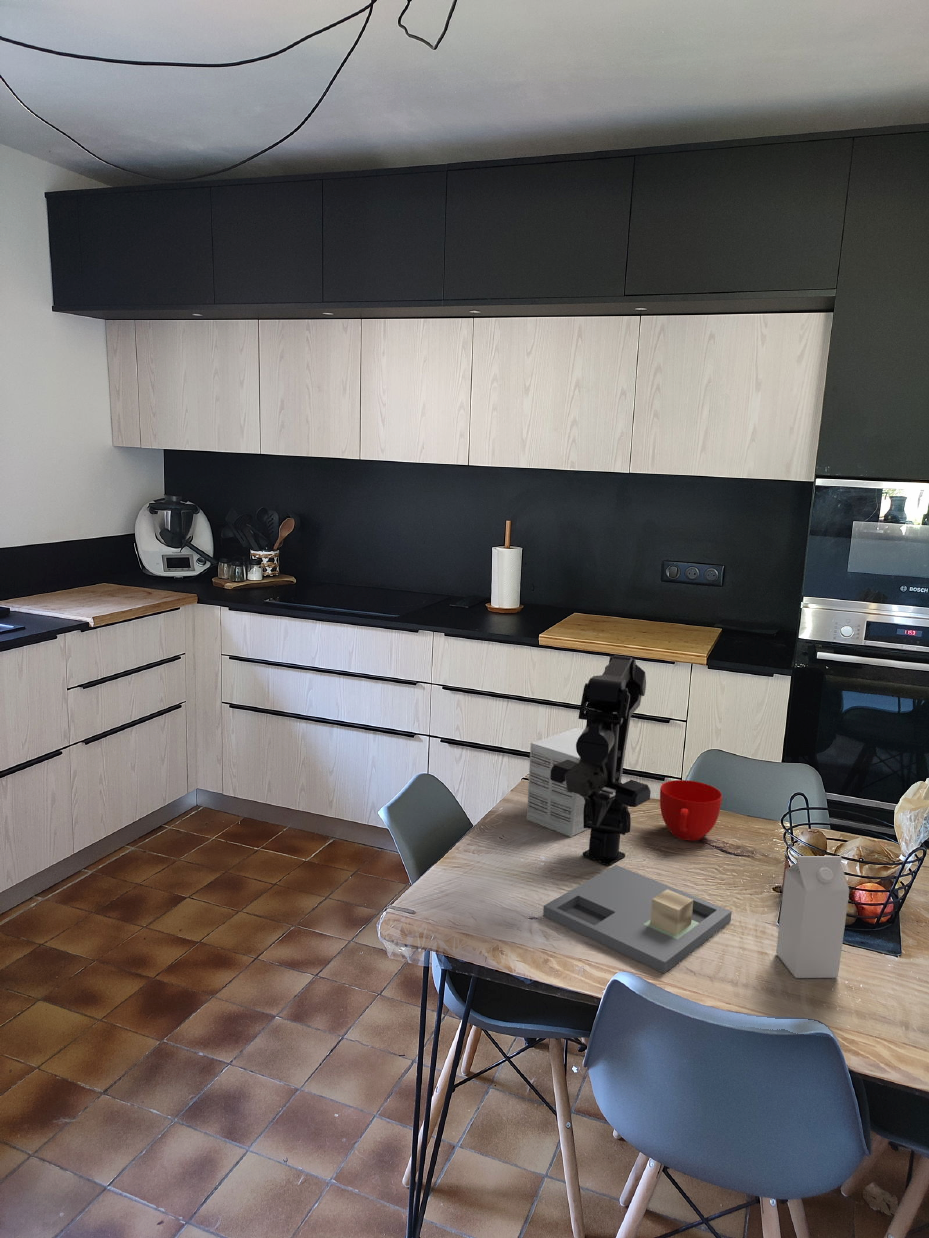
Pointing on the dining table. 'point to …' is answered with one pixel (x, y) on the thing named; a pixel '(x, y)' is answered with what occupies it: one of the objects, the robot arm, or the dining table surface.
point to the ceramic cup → (689, 808)
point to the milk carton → (813, 917)
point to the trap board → (633, 918)
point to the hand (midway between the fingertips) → (595, 825)
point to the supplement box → (554, 785)
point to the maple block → (671, 911)
